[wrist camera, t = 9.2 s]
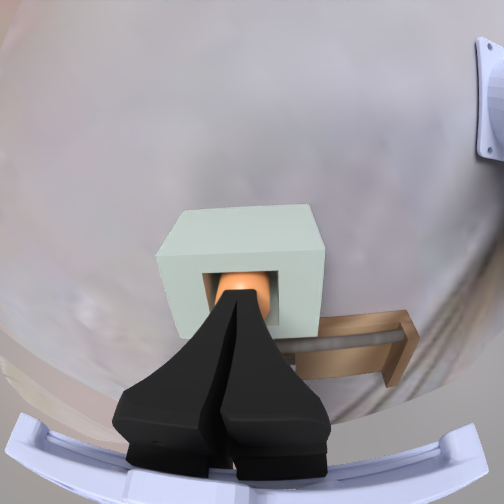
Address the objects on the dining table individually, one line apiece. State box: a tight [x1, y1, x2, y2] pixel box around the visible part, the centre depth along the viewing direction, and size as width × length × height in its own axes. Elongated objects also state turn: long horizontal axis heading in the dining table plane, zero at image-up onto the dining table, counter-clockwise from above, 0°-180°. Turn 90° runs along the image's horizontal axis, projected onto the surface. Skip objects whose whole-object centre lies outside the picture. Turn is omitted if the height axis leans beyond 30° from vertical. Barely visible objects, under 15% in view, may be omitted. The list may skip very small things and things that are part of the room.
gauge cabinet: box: [155, 204, 325, 339], centre depth 15 cm, size 7×5×5 cm
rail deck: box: [273, 310, 420, 388], centre depth 20 cm, size 15×6×3 cm, turn 94°
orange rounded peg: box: [215, 271, 270, 319], centre depth 14 cm, size 2×2×3 cm
